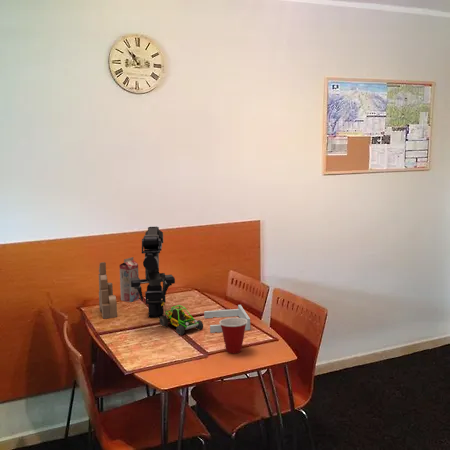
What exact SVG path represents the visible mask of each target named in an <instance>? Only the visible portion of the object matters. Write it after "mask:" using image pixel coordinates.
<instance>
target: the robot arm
mask: <svg viewBox="0 0 450 450" xmlns="http://www.w3.org/2000/svg"><path fill="white" fill-rule="evenodd" d="M163 244H164V232H163V231H162V230H160V227H159V226H149V227H147V230H146V232H145V233H144V235H143V237H142V238H141V254H143V255H144V259H143V263H142V264H143V267H144V270H145V272H144V273H145V277H144V278H141V279H140V277H136V278H130V286H131V287H134V289H137V290H138V292H139V299H140V300H141V302H143V301H144V300H145V305H148V312H147V313H148V314H147V315H149V316H148V318H149V317H153V318H160V316H163V315H164V314H165V313H164V306H161V305H162V303H163V302H164V303H166V302H167V301H166V294H167V291H168V289H169V287H171V286H172V285H173V284H176V279H175V276H173V275H172V274H166V273H165V272H160V254H161V251H162V248H163ZM143 284H147V286H146V291H145V292H144V295H145V296H143V290H142V289H143V288H142V285H143ZM144 297H145V299H144Z"/></svg>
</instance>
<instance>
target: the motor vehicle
mask: <svg viewBox="0 0 450 450" xmlns="http://www.w3.org/2000/svg"><path fill="white" fill-rule="evenodd" d="M165 303H166V302H165ZM165 303H164V302H163V303H162V305H161V306H163V307H164V308H165V313H164V314H165V315H164V314H163V316H160V317H158V318H159V320H158V321H159V324H161V325H162V326H166V327H168V326H169V323H170V324H171V325H172V326H174V327H176V329H175V332H176V334H177V333H178V334H180V335H181V336H183V334H184V335H185V331H187V330H190V329H194V328H195V329H196V328H197V330H198V329H200V330H202V329H204V323H203V322H202V320H201V319H195V318H194V317H193V316H192V314H191V313H190V312H189V310H188V309H187V308H186V307H185V306H183V305H181V304H178V305H177V304H176V305H173V306H171V307H170V309H169V310H167V307H166V304H165ZM184 310H185V311H186V312H187V313H188V314H186V313H185V311H184ZM161 325H160V326H161ZM162 326H161V327H162ZM178 334H177V335H178ZM180 335H179V336H180Z"/></svg>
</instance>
